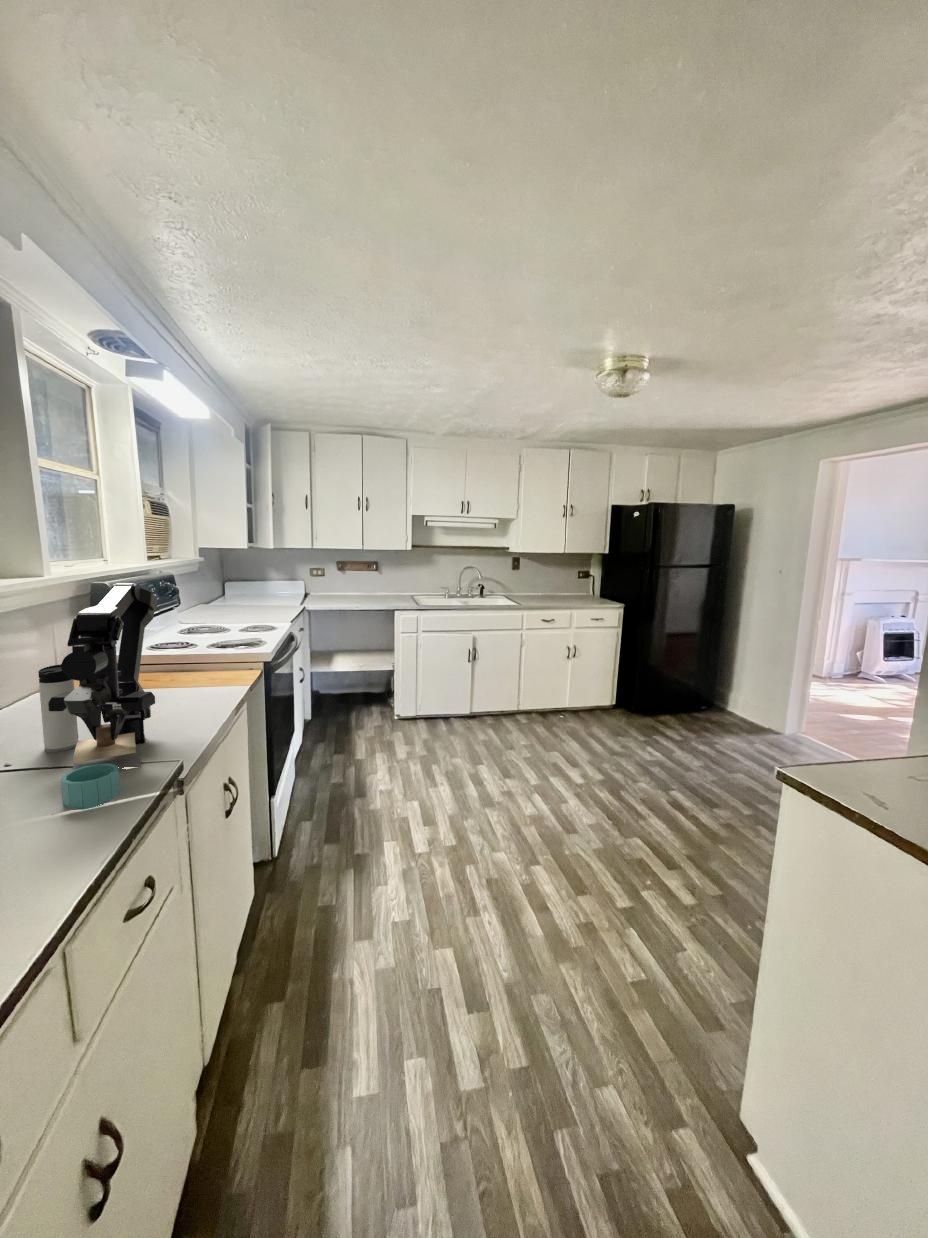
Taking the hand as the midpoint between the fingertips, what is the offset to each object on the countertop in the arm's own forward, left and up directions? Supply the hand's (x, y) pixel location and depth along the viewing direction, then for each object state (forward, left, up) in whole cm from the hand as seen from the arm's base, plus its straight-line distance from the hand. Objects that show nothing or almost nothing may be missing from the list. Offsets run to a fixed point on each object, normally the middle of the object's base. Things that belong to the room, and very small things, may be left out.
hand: (105, 739), depth 106 cm
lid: (0, 0, -2) cm, 2 cm away
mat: (0, 0, -6) cm, 6 cm away
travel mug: (+9, -17, -6) cm, 20 cm away
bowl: (+2, +16, -6) cm, 17 cm away
